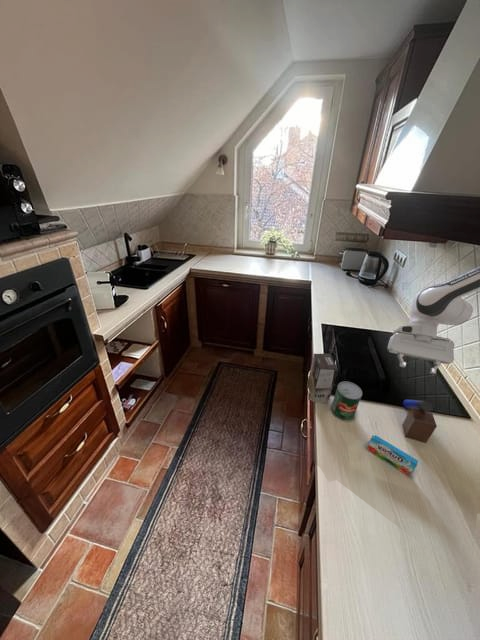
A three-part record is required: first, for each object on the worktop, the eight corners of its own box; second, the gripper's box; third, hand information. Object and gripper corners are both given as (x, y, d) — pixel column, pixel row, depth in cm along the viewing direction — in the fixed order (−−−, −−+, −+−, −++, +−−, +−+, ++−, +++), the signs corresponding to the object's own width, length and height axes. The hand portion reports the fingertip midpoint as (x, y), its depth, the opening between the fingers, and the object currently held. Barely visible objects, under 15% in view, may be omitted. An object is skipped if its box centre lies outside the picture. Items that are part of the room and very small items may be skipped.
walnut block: (402, 424, 86) (411, 408, 82) (422, 430, 85) (432, 413, 80) (404, 437, 82) (414, 420, 78) (425, 443, 81) (437, 426, 76)
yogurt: (365, 449, 78) (371, 437, 75) (367, 446, 79) (373, 433, 76) (409, 477, 72) (417, 464, 68) (410, 473, 73) (418, 460, 69)
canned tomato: (344, 400, 95) (351, 379, 89) (358, 417, 88) (367, 395, 83) (326, 405, 93) (332, 383, 87) (339, 423, 86) (347, 401, 81)
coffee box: (329, 402, 94) (338, 370, 85) (311, 402, 94) (319, 369, 85) (322, 384, 102) (331, 353, 93) (306, 384, 102) (313, 352, 93)
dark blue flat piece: (401, 402, 95) (414, 377, 88) (410, 405, 94) (424, 379, 87) (407, 431, 84) (423, 405, 78) (418, 434, 83) (435, 408, 77)
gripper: (449, 341, 94) (446, 378, 91) (388, 329, 100) (383, 364, 97) (459, 337, 88) (456, 377, 85) (394, 325, 94) (389, 362, 91)
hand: (417, 370), depth 91 cm, fingers open, 8 cm apart
